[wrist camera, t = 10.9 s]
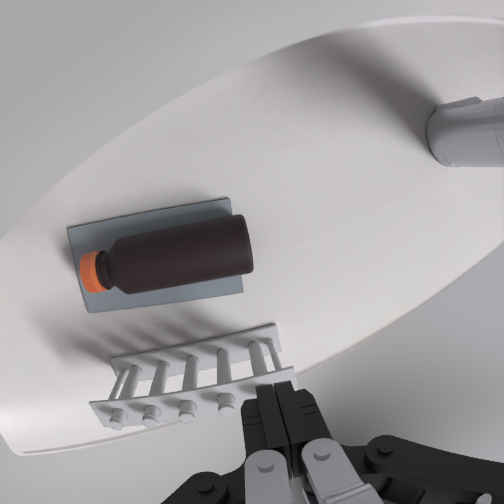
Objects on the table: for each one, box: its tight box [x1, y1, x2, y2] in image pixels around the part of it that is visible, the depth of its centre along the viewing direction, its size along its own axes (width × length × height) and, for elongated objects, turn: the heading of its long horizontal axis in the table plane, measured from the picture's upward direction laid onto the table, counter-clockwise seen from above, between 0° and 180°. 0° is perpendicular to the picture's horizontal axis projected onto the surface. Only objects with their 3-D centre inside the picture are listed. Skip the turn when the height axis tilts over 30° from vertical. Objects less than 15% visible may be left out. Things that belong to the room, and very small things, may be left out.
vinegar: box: [80, 214, 253, 294], centre depth 33 cm, size 7×7×20 cm
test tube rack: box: [89, 324, 298, 430], centre depth 34 cm, size 25×4×13 cm, turn 103°
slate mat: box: [68, 199, 244, 313], centre depth 36 cm, size 22×12×1 cm, turn 98°
